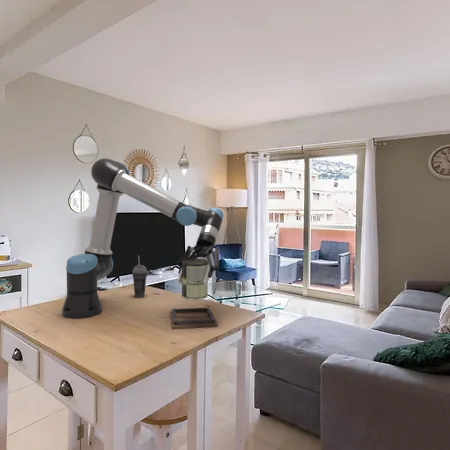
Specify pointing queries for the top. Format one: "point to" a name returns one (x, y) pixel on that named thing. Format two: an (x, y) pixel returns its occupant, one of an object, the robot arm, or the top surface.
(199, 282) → the coffee can
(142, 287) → the beverage cup
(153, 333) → the top surface
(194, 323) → the walnut board
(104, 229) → the robot arm
